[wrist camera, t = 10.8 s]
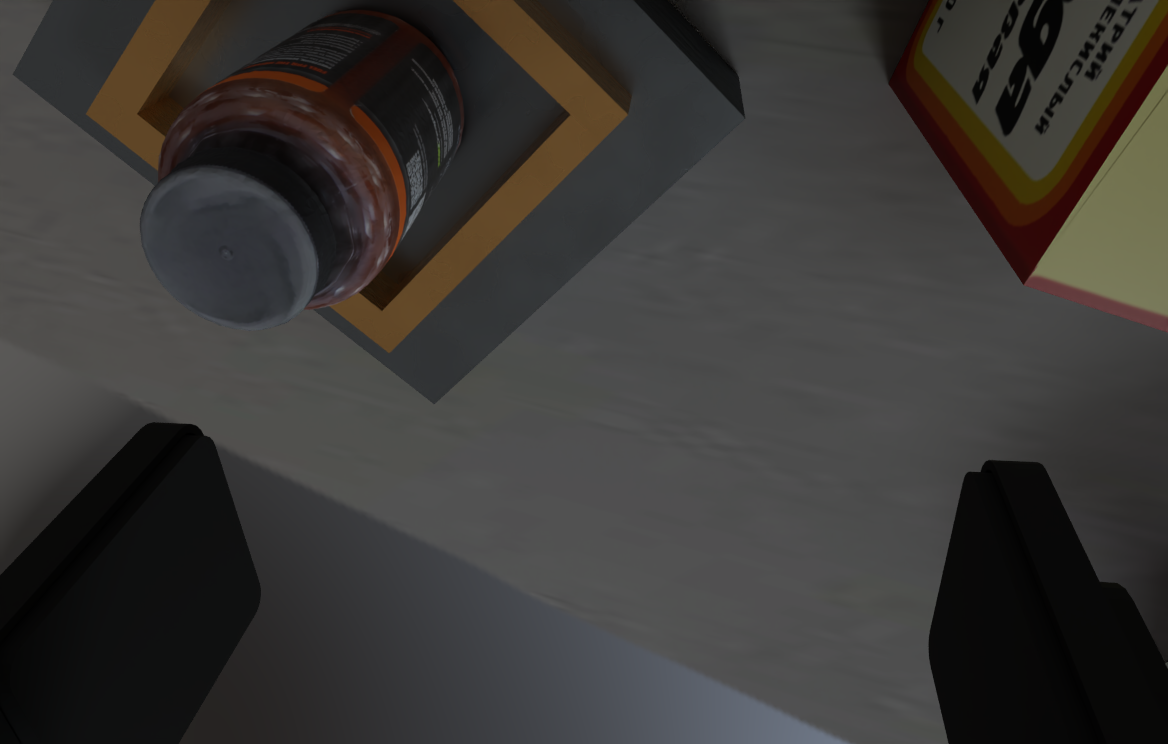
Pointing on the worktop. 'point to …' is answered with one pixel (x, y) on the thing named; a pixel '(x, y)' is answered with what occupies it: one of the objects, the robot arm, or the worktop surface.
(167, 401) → the worktop surface
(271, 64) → the supplement bottle
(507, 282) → the grey orange open tray
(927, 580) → the worktop surface
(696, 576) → the worktop surface
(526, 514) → the worktop surface
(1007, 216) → the baking soda box
